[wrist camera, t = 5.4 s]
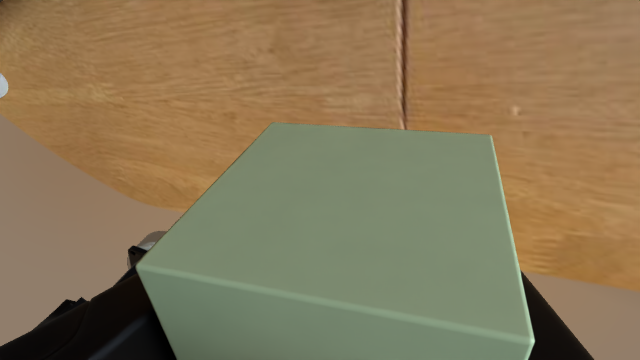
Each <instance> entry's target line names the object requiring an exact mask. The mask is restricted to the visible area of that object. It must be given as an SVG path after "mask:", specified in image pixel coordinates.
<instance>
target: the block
mask: <svg viewBox="0 0 640 360" xmlns="http://www.w3.org/2000/svg"><path fill="white" fill-rule="evenodd" d="M136 270H137V273H138V275H139V277H140V279H141V281H142V284H143V286H144V288H145V290H146V293H147V295H148V297H149V299H150V301H151V304H152V306H153V308H154V310H155V312H156V315H157V317H158V319H159V321H160V324H161V326H162V328H163V330H164V332H165V335H166V337H167V339H168V341H169V343H170V346H171V348H172V350H173V352H174V355H175V357H176V359H177V360H528V358H529V355H530V353H531V350H532V348H533V345H534V342H535V340H534V335H533V330H532V325H531V321H530V316H529V311H528V306H527V301H526V297H525V292H524V287H523V282H522V278H521V273H520V268H519V263H518V258H517V254H516V249H515V244H514V239H513V235H512V230H511V225H510V220H509V215H508V211H507V206H506V201H505V196H504V192H503V187H502V182H501V177H500V172H499V168H498V163H497V158H496V153H495V149H494V144H493V139H492V136H491V135H485V134H468V133H451V132H433V131H416V130H398V129H381V128H363V127H346V126H328V125H311V124H293V123H276V122H273V123H271V124H270V125H269V126H268V127H267V128H266V129H265V130H264V131H263V132H262V133H261V134H260V135H259V136H258V138H257V139H256V140H255V141H254V142H253V143H252V144H251V145H250V146H249V147H248V148H247V149H246V150H245V151H244V152H243V153H242V154H241V155H240V156H239V157H238V158H237V159H236V160H235V161H234V162H233V163H232V165H231V166H230V167H229V168H228V169H227V170H226V171H225V172H224V173H223V174H222V175H221V176H220V177H219V178H218V179H217V180H216V181H215V182H214V183H213V184H212V185H211V186H210V187H209V188H208V189H207V190H206V192H205V193H204V194H203V195H202V196H201V197H200V198H199V199H198V200H197V201H196V202H195V203H194V204H193V205H192V206H191V207H190V208H189V209H188V210H187V211H186V212H185V213H184V214H183V215H182V217H180V219H179V220H178V221H177V222H176V223H175V224H174V225H173V226H172V227H171V228H170V229H169V230H168V231H167V232H166V233H165V234H164V235H163V236H162V237H161V238H160V239H159V240H158V241H157V242H156V243H155V244H154V246H153V247H152V248H151V249H150V250H149V251H148V252H147V253H146V254H145V255H144V256H143V257H142V258H141V259H140V260H139V261H138V262H137V264H136Z"/></svg>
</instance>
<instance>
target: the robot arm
mask: <svg viewBox="0 0 640 360" xmlns="http://www.w3.org/2000/svg"><path fill="white" fill-rule="evenodd" d="M147 252H148V250H145V249H142V248H140V247H137V246H134V245H133V246H131V247H130V248H129V249H128V254H129V260H130V265H131V268H130V269H129V270H128V271H127V272H126V273H125V275H123V277H121V279H120V280H119V281H118V282H117V283H116V284H115V285H114V286H113V287H111V288H110V289H108V290H106V291H104V292H102V293H100V294H99V295H97V296H95V297H93V298H92V299H91V301H86V300H85V299H83V298H82V297H81V298H80V299H79V300H78V301H77V302H75V301H71V300H65V301H64V302H63V303H62V304H61V305H60V306H59V307H58V308H57V309H56V310H55V311H54V312H52V313H51V314H50V315H49V316H48V317H47V318H46V319H45V320H44V321H42V322H41V323H40V324H39V325H38V326H37V327H35V328H34V329H33V330H32V331H30V332H28V333H26V334H25V335H22V336H20V337H19V338H16V339H14V340H13V341H10V342H8V343H6V344H4V345H2V346H0V360H177V359H176V357H175V355H174V352H173V350H172V348H171V346H170V343H169V341H168V339H167V337H166V335H165V332H164V330H163V328H162V326H161V324H160V321H159V319H158V317H157V315H156V312H155V310H154V308H153V306H152V304H151V301H150V299H149V297H148V295H147V293H146V290H145V288H144V286H143V284H142V281H141V279H140V277H139V275H138V273H137V270H136V264H137V262H138V261H139V260H140V259H141V258H142V257H143V256H144V255H145V254H146V253H147ZM520 273H521V278H522V282H523V287H524V292H525V297H526V301H527V306H528V311H529V316H530V321H531V325H532V330H533V335H534V340H535V342H534V345H533V348H532V350H531V353H530V355H529V358H528V360H594V359H593V358H592V356H591V355H590V354H589V353H588V351H587V350H586V349H585V348H584V347H583V345H582V344H581V343H580V342H579V341H578V339H577V338H576V337H575V336H574V334H573V333H572V332H571V331H570V329H569V328H568V327H567V326H566V325H565V324H564V322H563V321H562V320H561V319H560V317H559V316H558V315H557V314H556V312H555V311H554V310H553V309H552V308H551V306H550V305H549V304H548V303H547V302H546V300H545V299H544V298H543V297H542V295H541V294H540V293H539V292H538V291H537V290H536V288H535V287H534V286H533V285H532V283H531V282H530V281H529V280H528V278H527V277H526V276H525V275H524V274H523V272H522V271H521V270H520Z"/></svg>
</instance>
